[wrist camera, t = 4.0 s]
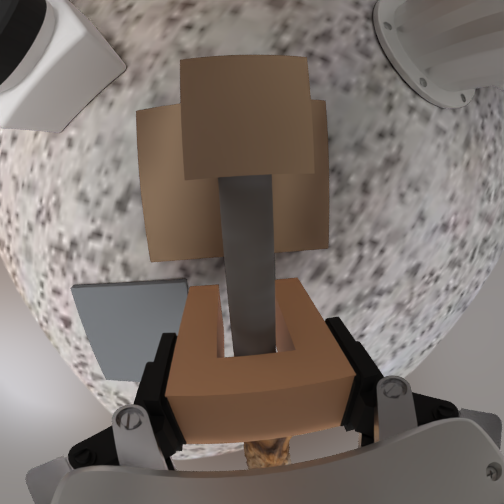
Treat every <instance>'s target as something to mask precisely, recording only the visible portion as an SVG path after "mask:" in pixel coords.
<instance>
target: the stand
mask: <svg viewBox="0 0 504 504" xmlns="http://www.w3.org/2000/svg"><path fill="white" fill-rule="evenodd" d="M180 99H181V104H175V105H168V106H161V107H155V108H149V109H144V110H139V111H136V126H137V149H138V164H139V177H140V187H141V197H142V206H143V214H144V222H145V229H146V236H147V242H148V249H149V255H150V260H151V262H161V261H175V260H188V259H201V258H214V257H224V262H225V273H226V283H227V294H228V304H229V313H230V323H231V332H232V341H233V350H234V357H238V356H249V355H259V354H268V353H276V319H275V258H274V253H278V252H290V251H303V250H315V249H328V243H329V154H328V132H327V115H326V102H325V101H324V100H311V96H310V84H309V74H308V64H307V57H298V56H283V55H227V56H212V57H201V58H191V59H183V60H180Z"/></svg>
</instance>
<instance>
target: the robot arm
mask: <svg viewBox="0 0 504 504" xmlns="http://www.w3.org/2000/svg"><path fill="white" fill-rule="evenodd" d="M373 21H374V26H375V31H376V34H377V36H378V39H379V42H380V44H381V46H382V48H383V50H384V52H385V54H386V55H387V57H388V59H389V60H390V62H391V63H392V65H393V66H394V68H395V69H396V70H397V72H398V73H399V74H400V75H401V77H402V78H403V79H404V80H405V81H406V82H407V83H408V84H409V86H410V87H411V88H412V89H413V90H415V91H416V92H417V93H418V94H419V95H420V96H422V97H423V98H424V99H426V100H427V101H429V102H430V103H432V104H434V105H437V106H439V107H442V108H447V109H453V108H460V107H464V106H466V105H467V104H468V103H470V101H471V100H472V98H473V96H474V93H475V90H476V88H482V87H490V86H495V87H496V88H498V89H499V90H501V91H504V0H378V2H377V3H376V5H375V8H374V11H373ZM325 323H326V325H327V326H328V328H329V330H330V331H331V333H332V335H333V336H334V338H335V340H336V341H337V343H338V345H339V346H340V348H341V350H342V351H343V353H344V355H345V356H346V358H347V360H348V361H349V363H350V365H351V367H352V368H353V370H354V372H355V373H356V376H354V380H353V383H352V387H351V391H350V394H349V398H348V401H347V405H346V408H345V411H344V415H343V418H342V421H341V424H340V426H344V427H345V429H346V431H350V430H354V429H355V431H356V432H359V441H358V442H359V443H358V448H357V449H354V450H351V451H347V452H344V453H340V454H336V455H332V456H328V457H324V458H320V459H315V460H310V461H305V462H301V463H295V464H289V465H282V466H276V467H268V468H259V469H249V470H235V471H208V472H207V471H200V472H199V471H177V470H176V467H175V465H174V462H173V460H172V457H171V456H172V455H173V454H175V453H176V451H182V446H183V444H187V443H186V441H185V438H184V436H183V434H182V432H181V430H180V427H179V425H178V423H177V420H176V418H175V416H174V413H173V411H172V408H171V406H170V403H169V401H168V398H167V397H165V393H166V388H167V383H168V378H169V373H170V368H171V363H172V359H173V354H174V350H175V345H176V341H177V337H178V336H177V335H176V333H175V332H174V333H162V336H161V339H160V342H159V345H158V349H157V352H156V355H155V359H154V362H147V363H146V365H145V368H144V372H143V375H142V378H141V381H140V384H139V388H138V391H137V394H136V398H135V401H134V404H131V405H125V406H122V407H120V408H119V409H117V410H116V411H115V412H114V414H113V416H112V426H110V427H108V428H107V429H105V430H103V431H101V432H99V433H97V434H95V435H94V436H92V437H90V438H88V439H86V440H84V441H82V442H80V443H78V444H76V445H75V446H73V447H72V448H71V450H70V451H69V454H68V457H64V456H61V457H58V458H56V459H54V460H52V461H49V462H47V463H45V464H42V465H40V466H38V467H35V468H33V469H31V470H29V471H28V473H27V474H26V484H27V486H28V489H29V491H30V494H31V496H32V498H33V501H34V502H35V504H504V456H503V454H502V452H501V451H500V445H501V432H502V423H501V420H500V418H499V417H498V416H497V415H495V414H492V413H485V412H479V411H474V410H468V409H463V408H462V409H461V410H460V411H459V410H458V409H457V407H456V406H455V405H454V404H452V403H451V402H449V401H445V400H441V399H437V398H433V397H429V396H424V395H421V394H417V393H413V392H412V391H411V387H410V384H409V383H408V382H407V381H406V380H405V379H404V378H402V377H399V376H386V377H384V376H383V375H382V373H381V372H380V370H379V369H378V367H377V366H376V364H375V363H374V361H373V360H372V359H371V357H370V356H369V354H368V353H367V351H366V350H365V348H364V347H363V346H362V344H361V343H360V342H359V341H355V339H354V338H353V336H352V335H351V334H350V332H349V331H348V329H347V328H346V326H345V325H344V324H343V322H342V321H341V319H340V318H339V317H333V318H327V319H326V320H325Z"/></svg>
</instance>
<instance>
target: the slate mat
mask: <svg viewBox="0 0 504 504" xmlns="http://www.w3.org/2000/svg"><path fill="white" fill-rule="evenodd" d="M71 291H72V295H73V298H74V301H75V304H76V307H77V310H78V313H79V316H80V319H81V321H82V324H83V327H84V330H85V332H86V335H87V337H88V340H89V342H90V345H91V347H92V350H93V352H94V354H95V357H96V359H97V361H98V363H99V365H100V368H101V370H102V372H103V374H104V376H105V378H106V380H118V381H133V382H140V381H141V378H142V375H143V372H144V368H145V365H146V363H147V362H154V359H155V355H156V352H157V349H158V345H159V342H160V339H161V336H162V333H174V332H175V333H176V335H177V336H178V332H179V328H180V324H181V320H182V316H183V312H184V308H185V304H186V300H187V296H188V286H187V279H177V280H162V281H146V282H128V283H109V284H87V285H73V286H72V287H71Z"/></svg>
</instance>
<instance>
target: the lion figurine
mask: <svg viewBox="0 0 504 504" xmlns="http://www.w3.org/2000/svg"><path fill="white" fill-rule="evenodd" d="M291 437H292V436H289V437H283V438H276V439H268V440H260V441H250V442H244V451H245V457H246V459H247V462H246V463H247V466H248V469H259V468H268V467H276V466H282V465H289V464H292V463H291V459H290V454H289V440H290V438H291Z"/></svg>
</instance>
